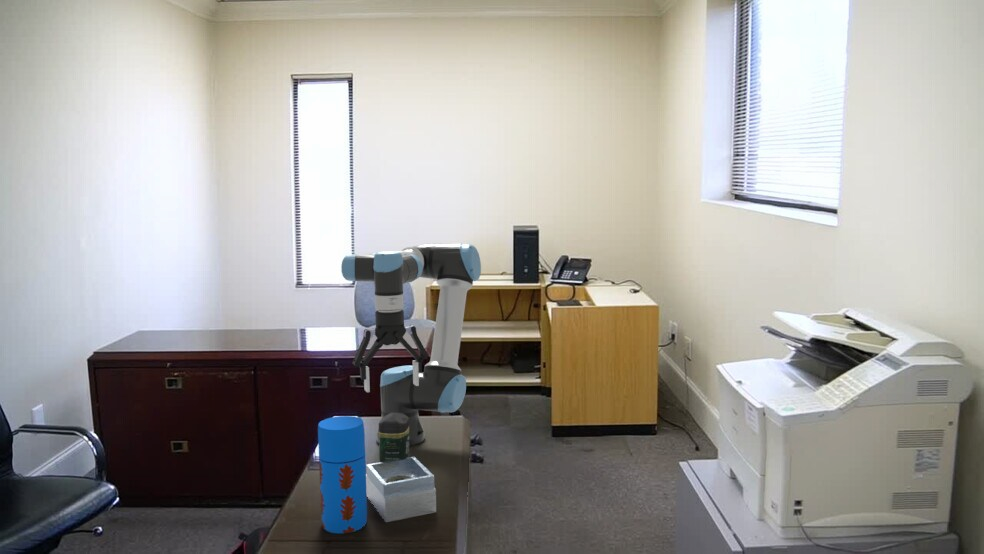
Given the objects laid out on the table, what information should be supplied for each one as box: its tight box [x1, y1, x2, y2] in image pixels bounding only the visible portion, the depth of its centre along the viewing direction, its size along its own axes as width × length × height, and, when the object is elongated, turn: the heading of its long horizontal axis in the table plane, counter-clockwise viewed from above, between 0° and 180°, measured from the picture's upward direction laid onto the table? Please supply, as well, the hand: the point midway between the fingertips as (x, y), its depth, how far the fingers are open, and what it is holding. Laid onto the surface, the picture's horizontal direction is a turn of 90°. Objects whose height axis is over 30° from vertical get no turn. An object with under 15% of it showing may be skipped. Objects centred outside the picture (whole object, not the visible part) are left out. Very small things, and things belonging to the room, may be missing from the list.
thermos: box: [317, 415, 368, 534], centre depth 182 cm, size 11×11×25 cm
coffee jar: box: [378, 413, 410, 462], centre depth 208 cm, size 10×8×19 cm
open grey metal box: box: [366, 456, 437, 523], centre depth 193 cm, size 13×17×9 cm
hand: (391, 387), depth 205 cm, fingers open, 13 cm apart
